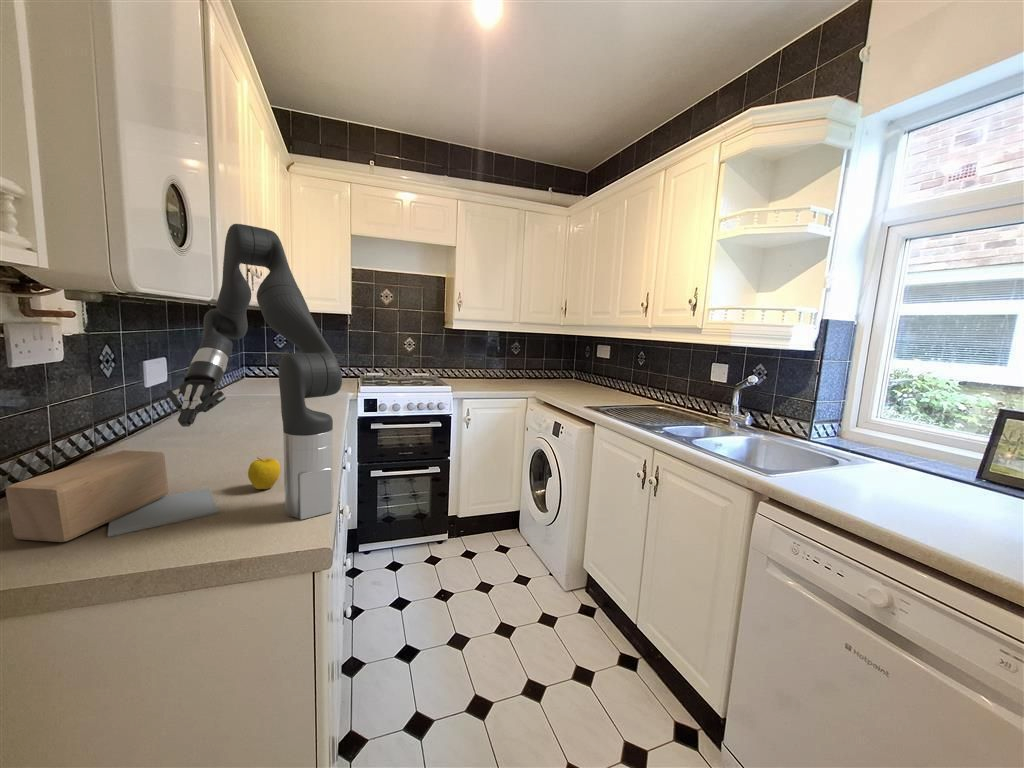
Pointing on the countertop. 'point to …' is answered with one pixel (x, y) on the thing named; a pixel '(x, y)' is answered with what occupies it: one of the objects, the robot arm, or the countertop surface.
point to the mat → (165, 511)
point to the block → (85, 495)
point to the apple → (264, 473)
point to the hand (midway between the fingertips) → (184, 424)
